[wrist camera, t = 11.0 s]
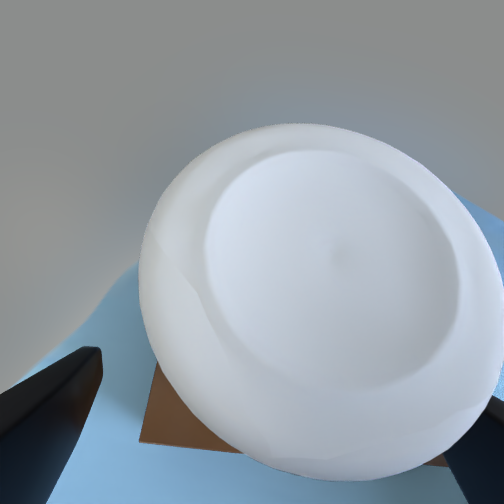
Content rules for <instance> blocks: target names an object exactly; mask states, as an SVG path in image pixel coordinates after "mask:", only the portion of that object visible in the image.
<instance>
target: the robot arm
mask: <svg viewBox="0 0 504 504" xmlns="http://www.w3.org/2000/svg"><path fill="white" fill-rule="evenodd" d="M102 378H103V364H102V352H101V349H100V348H99V347H90V346H84V347H81V348H79V349H78V350H76V351H74V352H72V353H71V354H69V355H67V356H66V357H64V358H62V359H60V360H59V361H57V362H55V363H53V364H52V365H50V366H48V367H47V368H45V369H43V370H41V371H40V372H38V373H36V374H34V375H33V376H31V377H29V378H28V379H26V380H24V381H22V382H21V383H19V384H17V385H15V386H14V387H12V388H10V389H9V390H7V391H5V392H3V393H2V394H0V504H46V502H47V501H48V499H49V497H50V495H51V493H52V491H53V489H54V487H55V485H56V483H57V481H58V479H59V477H60V475H61V473H62V471H63V469H64V467H65V465H66V463H67V462H68V460H69V458H70V456H71V454H72V452H73V450H74V448H75V446H76V444H77V441H78V439H79V437H80V434H81V432H82V430H83V427H84V425H85V422H86V419H87V417H88V414H89V412H90V409H91V407H92V404H93V402H94V399H95V397H96V394H97V392H98V389H99V386H100V384H101V381H102ZM442 455H443V457H444V459H445V460H446V462H447V464H448V466H449V468H450V470H451V472H452V474H453V475H454V477H455V479H456V481H457V483H458V485H459V487H460V489H461V490H462V492H463V494H464V496H465V498H466V500H467V502H468V503H469V504H504V401H502V400H500V399H498V398H497V397H495V396H493V395H492V396H491V398H490V400H489V402H488V404H487V406H486V408H485V409H484V410H483V412H482V413H481V414H480V416H479V417H478V419H477V420H476V421H475V423H474V424H473V425H472V427H471V428H470V429H469V430H468V431H467V432H466V433H465V434H464V435H463V436H462V437H461V438H460V439H459V440H458V441H457V442H455V443H454V444H453V445H452V446H451V447H450V448H449V449H448V450H446V451H444V452H443V453H442Z"/></svg>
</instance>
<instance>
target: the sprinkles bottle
mask: <svg viewBox="0 0 504 504" xmlns="http://www.w3.org/2000/svg"><path fill="white" fill-rule="evenodd" d="M138 283H139V302H140V308H141V312H142V317H143V321H144V326H145V329H146V332H147V336H148V339H149V342H150V345H151V347H152V349H153V352H154V354H155V356H156V358H157V360H158V363H159V365H160V367H161V369H162V372H163V373H164V375H165V376H166V378H167V379H168V381H169V382H170V383H171V385H172V386H173V388H174V389H175V391H176V392H177V394H178V395H179V397H180V398H181V399H182V400H183V402H184V403H185V404H186V405H187V407H188V408H189V409H190V411H191V412H192V413H193V414H194V415H195V416H196V417H197V418H198V419H199V420H200V421H201V422H202V423H203V424H204V425H206V426H207V427H208V428H209V429H210V430H211V431H212V432H214V433H215V434H216V435H217V436H218V437H220V438H221V439H222V440H224V441H225V442H227V443H228V444H229V445H231V446H232V447H234V448H236V449H237V450H239V451H241V452H242V453H244V454H246V455H247V456H249V457H251V458H253V459H254V460H256V461H258V462H260V463H262V464H265V465H267V466H269V467H271V468H273V469H277V470H280V471H284V472H287V473H291V474H294V475H299V476H303V477H307V478H312V479H316V480H323V481H367V480H376V479H380V478H384V477H388V476H392V475H396V474H399V473H402V472H405V471H408V470H411V469H413V468H416V467H418V466H420V465H422V464H424V463H426V462H428V461H430V460H431V459H433V458H435V457H436V456H438V455H440V454H441V453H443V452H444V451H446V450H448V449H449V448H450V447H451V446H452V445H453V444H454V443H455V442H457V441H458V440H459V439H460V438H461V437H462V436H463V435H464V434H465V433H466V432H467V431H468V430H469V429H470V428H471V427H472V425H473V424H474V423H475V421H476V420H477V419H478V417H479V416H480V414H481V413H482V412H483V410H484V409H485V408H486V406H487V404H488V402H489V400H490V398H491V396H492V394H493V392H494V390H495V388H496V386H497V384H498V380H499V377H500V373H501V369H502V366H503V362H504V288H503V284H502V279H501V275H500V272H499V269H498V266H497V264H496V261H495V258H494V256H493V253H492V250H491V248H490V246H489V245H488V243H487V241H486V239H485V237H484V235H483V233H482V231H481V229H480V228H479V226H478V225H477V223H476V222H475V220H474V219H473V217H472V216H471V215H470V213H469V212H468V210H467V209H466V208H465V207H464V205H463V204H462V203H461V202H460V201H459V199H458V198H457V197H456V196H455V195H454V194H453V193H452V192H451V191H450V189H449V188H448V187H447V186H446V185H445V184H443V183H442V182H441V181H440V180H439V179H438V178H437V177H436V176H435V175H434V174H433V173H431V172H430V171H429V170H428V169H426V168H425V167H424V166H423V165H422V164H420V163H419V162H417V161H415V160H414V159H412V158H411V157H409V156H407V155H406V154H404V153H403V152H401V151H399V150H397V149H395V148H393V147H392V146H390V145H388V144H386V143H384V142H381V141H379V140H376V139H374V138H371V137H368V136H366V135H363V134H360V133H356V132H353V131H350V130H346V129H342V128H337V127H333V126H329V125H321V124H310V123H304V124H303V123H300V124H299V123H287V124H276V125H269V126H263V127H259V128H256V129H251V130H247V131H244V132H241V133H238V134H236V135H234V136H232V137H229V138H227V139H225V140H224V141H221V142H219V143H217V144H215V145H213V146H212V147H210V148H209V149H207V150H206V151H205V152H203V153H202V154H200V155H199V156H197V157H196V158H195V159H194V160H192V161H191V162H190V163H189V164H188V165H187V166H186V167H185V168H184V169H183V170H182V171H181V172H180V173H179V174H178V175H177V176H176V177H175V178H174V180H173V181H172V182H171V183H170V185H169V186H168V187H167V189H166V190H165V191H164V193H163V194H162V195H161V197H160V198H159V200H158V203H157V206H156V208H155V209H154V211H153V213H152V215H151V218H150V220H149V222H148V224H147V227H146V231H145V234H144V238H143V241H142V246H141V251H140V257H139V273H138Z"/></svg>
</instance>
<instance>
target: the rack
mask: <svg viewBox="0 0 504 504" xmlns="http://www.w3.org/2000/svg"><path fill="white" fill-rule="evenodd" d="M139 443H147V444H156V445H166V446H175V447H184V448H193V449H203V450H212V451H221V452H230V453H240V454H244V453H242V452H241V451H239V450H237V449H236V448H234V447H232V446H231V445H229V444H228V443H227V442H225V441H224V440H222V439H221V438H220V437H218V436H217V435H216V434H215V433H214V432H212V431H211V430H210V429H209V428H208V427H207V426H206V425H204V424H203V423H202V422H201V421H200V420H199V419H198V418H197V417H196V416H195V415H194V414H193V413H192V412H191V411H190V409H189V408H188V407H187V405H186V404H185V403H184V402H183V400H182V399H181V398H180V397H179V395H178V394H177V392H176V391H175V389H174V388H173V386H172V385H171V383H170V382H169V381H168V379H167V378H166V376H165V375H164V373H163V372H162V369H161V367H160V365H159V363H158V360H157V364H156V368H155V373H154V377H153V381H152V386H151V390H150V394H149V399H148V403H147V407H146V412H145V416H144V420H143V425H142V429H141V433H140V438H139ZM423 465H432V466H441V467H449V466H448V464H447V462H446V460H445V459H444V457H443V455H442V453H441V454H440V455H438V456H436V457H435V458H433V459H431V460H430V461H428V462H426V463H424V464H423Z"/></svg>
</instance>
